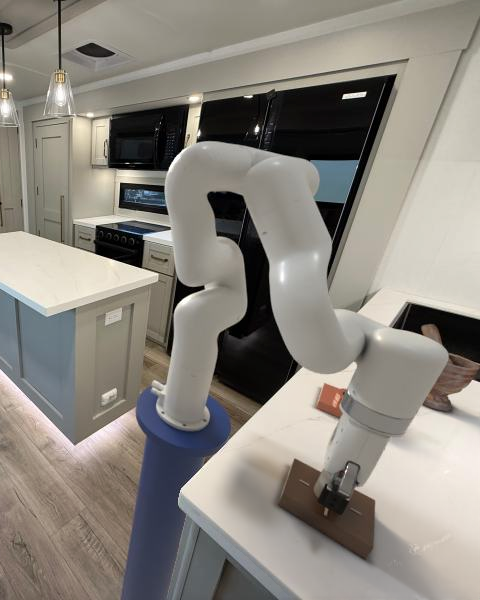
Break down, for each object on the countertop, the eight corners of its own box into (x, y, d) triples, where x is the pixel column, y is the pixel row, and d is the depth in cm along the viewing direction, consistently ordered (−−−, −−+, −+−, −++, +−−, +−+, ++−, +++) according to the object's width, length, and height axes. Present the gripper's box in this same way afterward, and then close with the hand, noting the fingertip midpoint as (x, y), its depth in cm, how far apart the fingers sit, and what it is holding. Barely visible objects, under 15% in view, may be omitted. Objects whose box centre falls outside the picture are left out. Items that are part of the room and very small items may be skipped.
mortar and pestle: (391, 396, 83) (426, 331, 75) (390, 381, 89) (422, 319, 81) (455, 417, 76) (501, 348, 68) (448, 400, 82) (490, 334, 74)
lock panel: (277, 504, 55) (282, 492, 54) (289, 468, 62) (294, 457, 60) (365, 559, 47) (374, 547, 46) (368, 511, 54) (375, 499, 53)
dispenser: (315, 407, 78) (321, 395, 76) (321, 389, 85) (326, 377, 83) (378, 434, 71) (386, 420, 69) (379, 411, 77) (386, 399, 76)
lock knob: (343, 515, 50) (358, 489, 48) (311, 496, 53) (323, 471, 51) (346, 496, 53) (360, 471, 51) (315, 479, 56) (328, 455, 54)
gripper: (347, 373, 54) (314, 447, 61) (336, 428, 42) (296, 512, 49) (407, 394, 49) (363, 471, 56) (412, 462, 37) (356, 549, 44)
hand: (332, 489), depth 53 cm, fingers open, 7 cm apart
